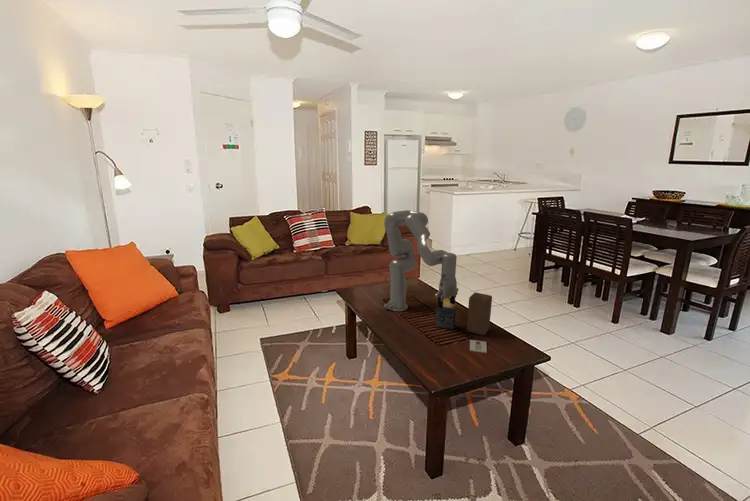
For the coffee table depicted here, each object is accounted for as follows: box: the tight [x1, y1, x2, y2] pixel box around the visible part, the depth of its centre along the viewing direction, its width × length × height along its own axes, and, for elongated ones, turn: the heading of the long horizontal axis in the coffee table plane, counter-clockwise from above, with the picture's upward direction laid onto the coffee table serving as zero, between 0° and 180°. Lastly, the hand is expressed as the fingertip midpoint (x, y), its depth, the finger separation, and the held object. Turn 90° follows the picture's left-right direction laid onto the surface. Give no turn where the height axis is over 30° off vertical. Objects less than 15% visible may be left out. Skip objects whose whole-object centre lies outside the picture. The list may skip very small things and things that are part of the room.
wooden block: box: [466, 292, 493, 336], centre depth 208 cm, size 10×10×20 cm
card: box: [469, 339, 488, 354], centre depth 192 cm, size 8×11×1 cm
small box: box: [434, 305, 457, 331], centre depth 213 cm, size 11×6×10 cm, turn 71°
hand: (446, 305), depth 211 cm, fingers open, 9 cm apart
